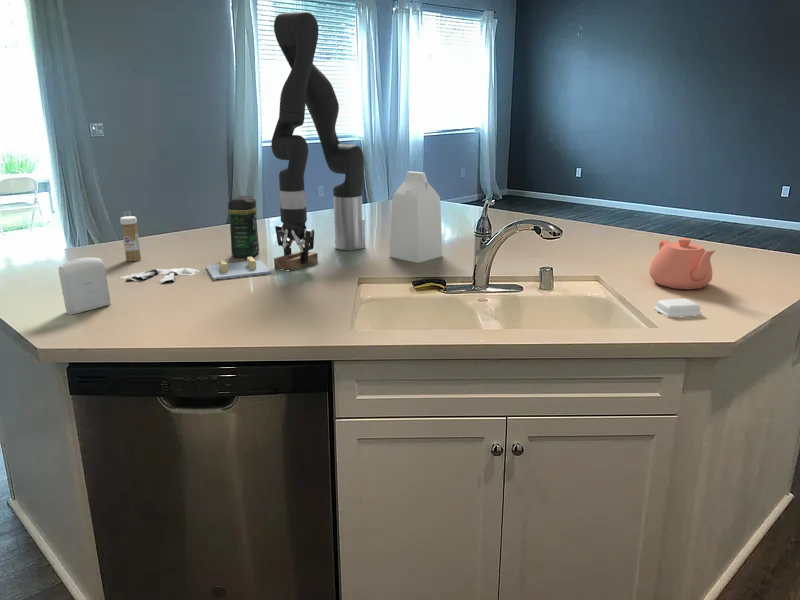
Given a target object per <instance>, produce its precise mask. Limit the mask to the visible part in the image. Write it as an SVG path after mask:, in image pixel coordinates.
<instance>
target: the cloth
mask: <svg viewBox="0 0 800 600" xmlns="http://www.w3.org/2000/svg"><path fill="white" fill-rule="evenodd" d="M197 273H200V270H198V269H194V268H191V267H190V268H188V267H187V268H186V267H181V268H169V269H166V268H165V269H162V268H152V269H150V270H147V271H142V272H135V273H131V274H128V275H124V276H121V277H119V278H120V279H121V278H124V279H125V281H124V282H126V281H127V282H130V281H134V282H143V281H145V280H148V279H150V278H151V277H155V276H156V275H162V276H163V275H164V276H163V278H161V279H160V280H159V281H158V285H161V284H163V283H164V284H169V283H172V284H173V283H175V282H176V281H175V278H176V277H175V276H176V274H177V275H178V276H188V275H189V276H195V275H197ZM194 274H195V275H194Z"/></svg>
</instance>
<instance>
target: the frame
mask: <svg viewBox="0 0 800 600" xmlns="http://www.w3.org/2000/svg"><path fill="white" fill-rule="evenodd" d="M300 252H301V251H300V250H298V251H296V252H291V253H292V254H288V255H284V254H283V255H280V256H277V257H275V258H273V261H274V262H273V264H274V269H276V268H277V270H280V269H283V270H282V271H285V270H289V271H288V272H291V271H290V270H292V271H294V270H293V269H295V270H298V269H297V268H299V269H302V268H305V267H308V265H309V266H311V264H312V265H315V264H317V263H319V259H318V258H319V257H318V252H314V251H310V250H309V251H308V263H307V264H301V258H300ZM314 263H315V264H314ZM304 266H305V267H304ZM301 267H302V268H301Z"/></svg>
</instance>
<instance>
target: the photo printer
mask: <svg viewBox="0 0 800 600" xmlns="http://www.w3.org/2000/svg"><path fill="white" fill-rule="evenodd" d="M106 272H107V271H106V268H105V264H104V260H102V258H98V257H92V256H91V257H80V258H75V259H72V260H69V261H67V262H65V263H63V264H62V265H60V266H59V267H58V275H59V282H60V286H61V291H62V292H61V293H62V296H63V301H64V306H65V311H66V314H67V313H68V314H67V315H76V314H80V313H82V312H83V313H84V312H86V311H87V312H88V311H90V310H91V311H92V310H94V309H97V308H102V307H106V306H110V305H111V297H110V290H109V284H108V279H107V274H106Z"/></svg>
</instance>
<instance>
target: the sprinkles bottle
mask: <svg viewBox="0 0 800 600" xmlns="http://www.w3.org/2000/svg"><path fill="white" fill-rule="evenodd" d="M137 220H138V219H137V217H136V216H133V215H129V216H128V215H127V216H122V217H120V218H119V221H120V224H121V230H122V236H123V237H122V238H123V247H124V252H125V261H126V262H132V263H133V262H138V261H140V260H142V256H141V246H140V240H139V238H140V237H139V232H138V225H137V222H138V221H137Z"/></svg>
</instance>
